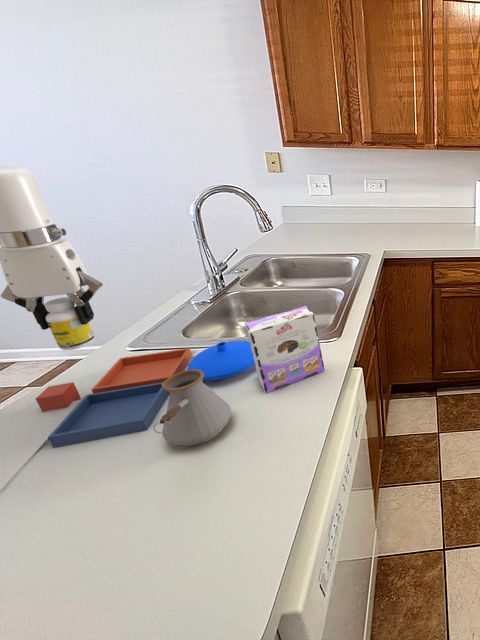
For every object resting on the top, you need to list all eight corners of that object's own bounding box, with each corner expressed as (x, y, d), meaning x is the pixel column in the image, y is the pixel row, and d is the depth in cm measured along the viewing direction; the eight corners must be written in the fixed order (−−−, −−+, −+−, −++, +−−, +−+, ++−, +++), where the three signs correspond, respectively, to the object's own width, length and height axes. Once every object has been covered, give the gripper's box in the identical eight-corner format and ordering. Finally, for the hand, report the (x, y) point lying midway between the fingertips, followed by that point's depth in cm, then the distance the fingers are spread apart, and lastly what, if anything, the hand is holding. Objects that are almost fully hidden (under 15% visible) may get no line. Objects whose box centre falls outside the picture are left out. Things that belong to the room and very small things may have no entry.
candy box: (317, 361, 103) (306, 304, 97) (325, 371, 99) (314, 313, 93) (259, 382, 95) (243, 321, 89) (265, 394, 91) (249, 331, 84)
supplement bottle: (52, 349, 79) (31, 305, 76) (82, 335, 84) (64, 294, 81) (72, 352, 78) (52, 308, 75) (102, 338, 83) (84, 296, 79)
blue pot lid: (266, 346, 110) (260, 324, 107) (259, 378, 96) (253, 354, 93) (199, 358, 104) (192, 335, 102) (182, 394, 91) (173, 368, 88)
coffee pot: (173, 421, 83) (150, 361, 77) (236, 406, 87) (219, 347, 81) (145, 506, 65) (112, 435, 59) (226, 480, 69) (203, 412, 64)
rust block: (43, 415, 84) (35, 398, 83) (56, 402, 88) (48, 386, 87) (69, 411, 86) (61, 394, 84) (81, 398, 90) (73, 382, 88)
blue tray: (53, 447, 76) (47, 437, 75) (91, 404, 88) (86, 394, 87) (147, 429, 80) (142, 419, 79) (171, 390, 92) (168, 381, 91)
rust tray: (95, 399, 89) (91, 389, 88) (123, 366, 101) (120, 358, 100) (174, 385, 94) (170, 376, 93) (192, 356, 105) (189, 347, 104)
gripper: (97, 228, 78) (129, 309, 85) (-17, 236, 73) (26, 322, 80) (76, 238, 72) (111, 325, 79) (-51, 247, 67) (-1, 340, 74)
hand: (68, 323), depth 79 cm, fingers closed on supplement bottle, 5 cm apart
